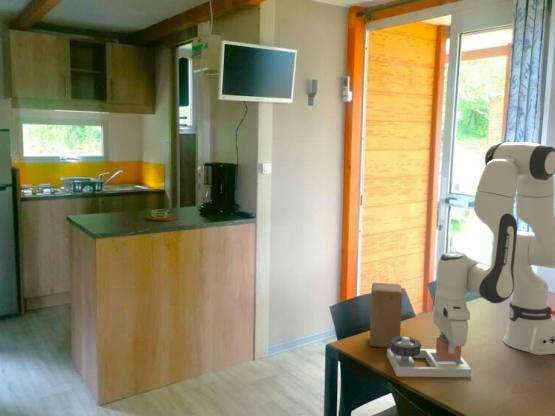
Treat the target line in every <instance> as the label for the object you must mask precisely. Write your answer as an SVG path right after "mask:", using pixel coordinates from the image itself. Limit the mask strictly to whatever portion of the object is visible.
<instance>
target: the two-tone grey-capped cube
mask: <svg viewBox="0 0 555 416" xmlns="http://www.w3.org/2000/svg"><path fill="white" fill-rule="evenodd" d="M448 346H449V340H448V339H447V338H446V336H445V335H440V334H439V337H436V345H435V347H436V348H435V349H436V354H437V355H438V356H439V358H440V359H441V360H461V357H462V346H456V347H455V353H453V354H450V353H449V352H448V351H447V347H448Z"/></svg>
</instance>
